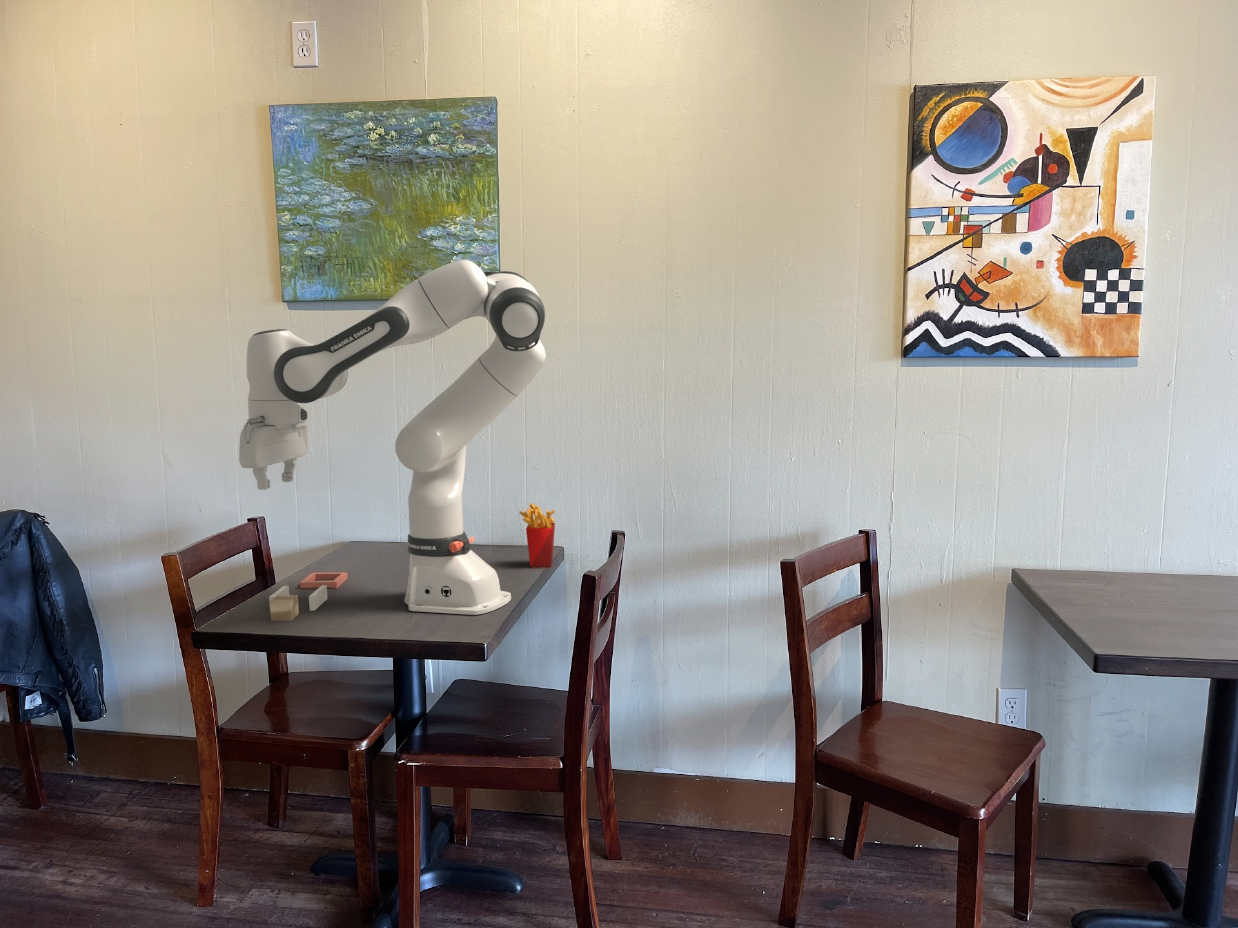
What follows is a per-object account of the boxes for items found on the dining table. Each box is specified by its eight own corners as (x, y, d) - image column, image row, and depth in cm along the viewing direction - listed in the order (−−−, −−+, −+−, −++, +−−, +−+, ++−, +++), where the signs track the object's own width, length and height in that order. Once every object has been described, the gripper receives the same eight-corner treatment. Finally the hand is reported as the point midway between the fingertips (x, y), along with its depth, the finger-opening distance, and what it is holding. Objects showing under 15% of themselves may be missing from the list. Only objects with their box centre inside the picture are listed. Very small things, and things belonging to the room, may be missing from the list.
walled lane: (314, 610, 173) (313, 596, 173) (270, 611, 173) (269, 596, 173) (327, 598, 181) (326, 585, 181) (284, 599, 181) (283, 585, 181)
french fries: (556, 561, 211) (555, 501, 209) (553, 570, 203) (552, 508, 201) (521, 561, 211) (519, 502, 209) (516, 570, 203) (514, 508, 201)
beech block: (291, 620, 167) (290, 600, 167) (271, 621, 167) (269, 601, 167) (298, 614, 171) (297, 595, 171) (278, 614, 171) (277, 595, 171)
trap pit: (336, 588, 189) (336, 581, 189) (300, 588, 189) (300, 582, 189) (347, 578, 197) (347, 572, 197) (312, 579, 197) (312, 572, 197)
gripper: (261, 419, 154) (264, 494, 156) (312, 411, 174) (315, 477, 176) (228, 418, 154) (231, 493, 156) (283, 410, 175) (285, 477, 176)
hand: (276, 485), depth 166 cm, fingers open, 8 cm apart
